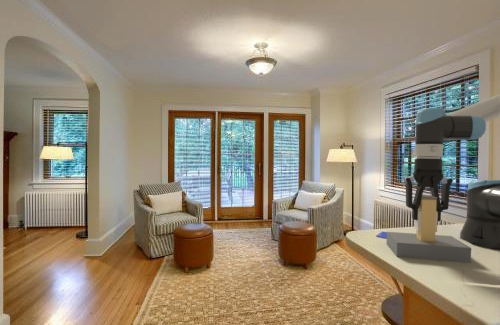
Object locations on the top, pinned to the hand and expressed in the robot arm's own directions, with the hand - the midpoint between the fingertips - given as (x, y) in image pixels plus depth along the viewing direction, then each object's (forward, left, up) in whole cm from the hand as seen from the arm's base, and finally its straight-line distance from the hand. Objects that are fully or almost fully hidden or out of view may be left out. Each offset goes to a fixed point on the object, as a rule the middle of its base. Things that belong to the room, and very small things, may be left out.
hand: (425, 230), depth 90 cm
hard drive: (+4, -15, -9) cm, 18 cm away
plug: (0, 0, -4) cm, 4 cm away
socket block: (0, 0, -8) cm, 8 cm away
